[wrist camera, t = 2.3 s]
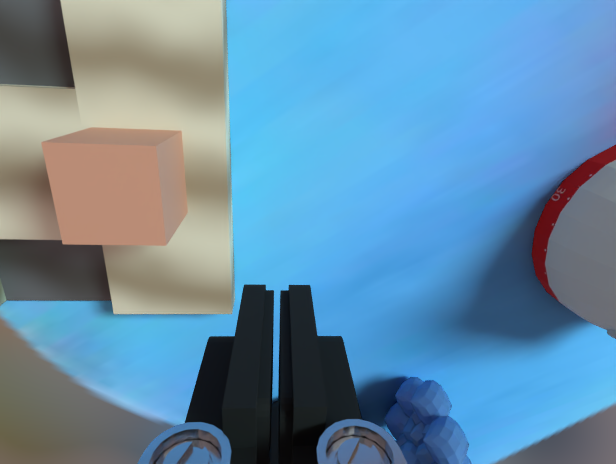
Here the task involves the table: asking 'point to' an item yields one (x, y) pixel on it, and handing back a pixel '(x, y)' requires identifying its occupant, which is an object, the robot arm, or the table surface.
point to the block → (117, 185)
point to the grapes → (426, 425)
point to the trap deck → (116, 114)
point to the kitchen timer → (581, 242)
